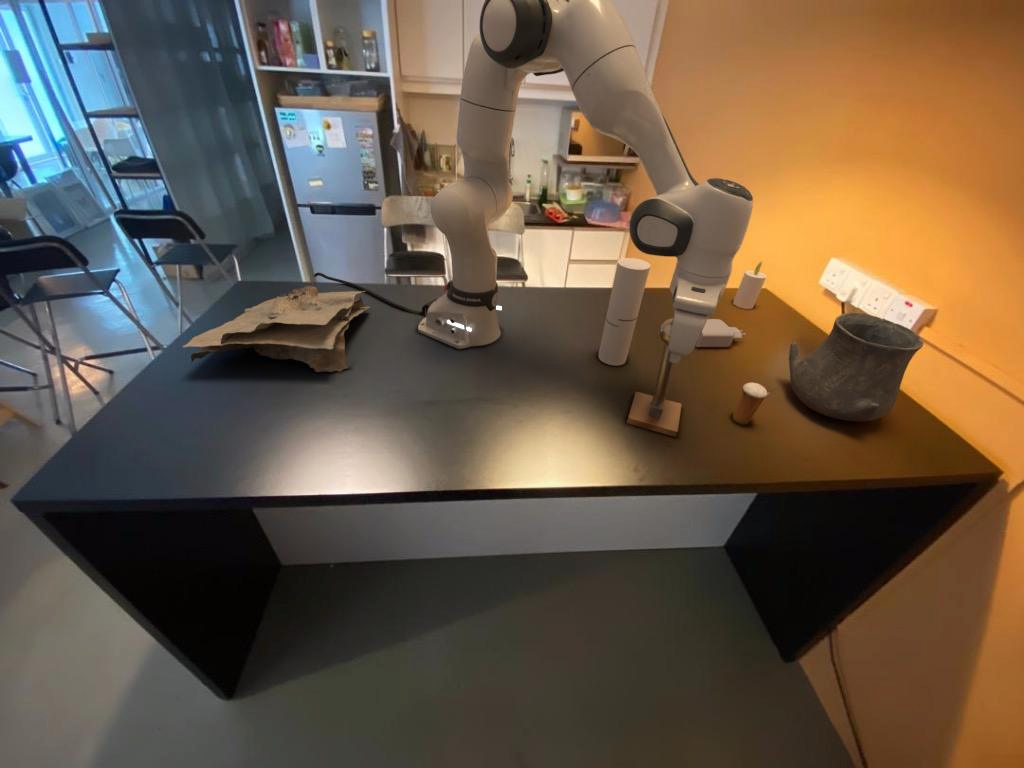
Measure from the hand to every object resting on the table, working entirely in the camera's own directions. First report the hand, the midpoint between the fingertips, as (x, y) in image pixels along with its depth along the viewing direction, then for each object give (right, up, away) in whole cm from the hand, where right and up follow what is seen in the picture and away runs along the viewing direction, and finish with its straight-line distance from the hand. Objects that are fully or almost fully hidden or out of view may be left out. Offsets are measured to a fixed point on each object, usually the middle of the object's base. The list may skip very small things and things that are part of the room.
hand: (675, 351), depth 82 cm
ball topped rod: (-3, -2, +3) cm, 5 cm away
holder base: (-1, -13, +10) cm, 16 cm away
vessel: (+43, -11, +17) cm, 47 cm away
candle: (+45, +20, +59) cm, 77 cm away
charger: (+26, +6, +38) cm, 47 cm away
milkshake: (+18, -14, +10) cm, 25 cm away
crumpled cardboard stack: (-86, +4, +26) cm, 90 cm away
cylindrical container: (-6, 0, +28) cm, 28 cm away
